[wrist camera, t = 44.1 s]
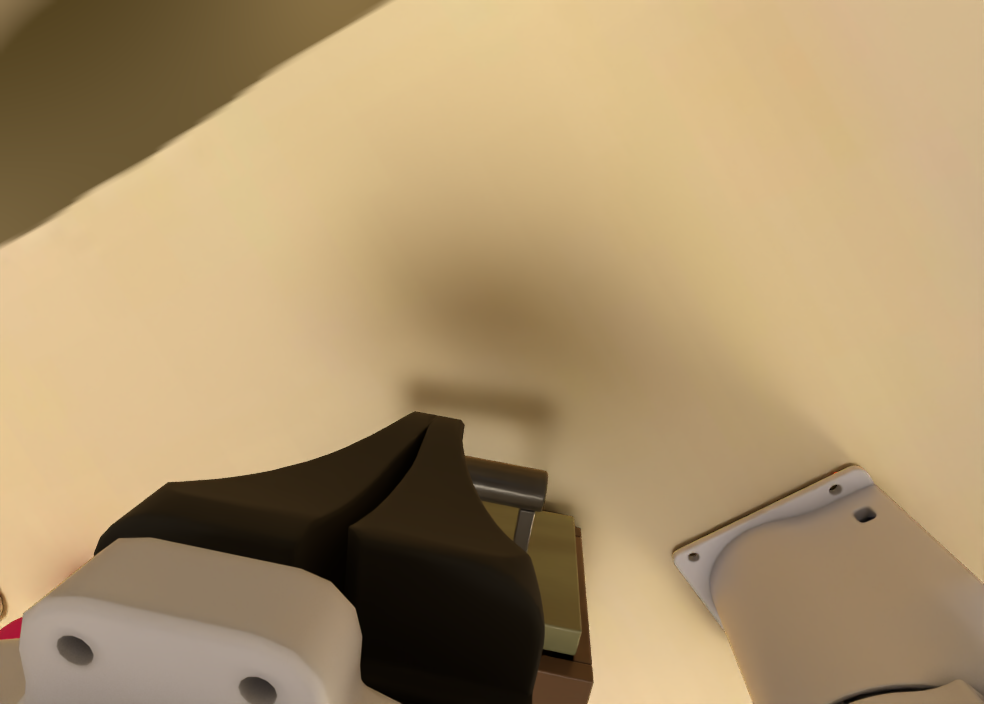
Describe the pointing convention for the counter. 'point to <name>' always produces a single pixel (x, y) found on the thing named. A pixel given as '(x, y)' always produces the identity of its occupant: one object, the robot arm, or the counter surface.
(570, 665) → the cabinet
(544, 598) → the drawer
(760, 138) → the counter surface
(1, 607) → the rook chess piece
